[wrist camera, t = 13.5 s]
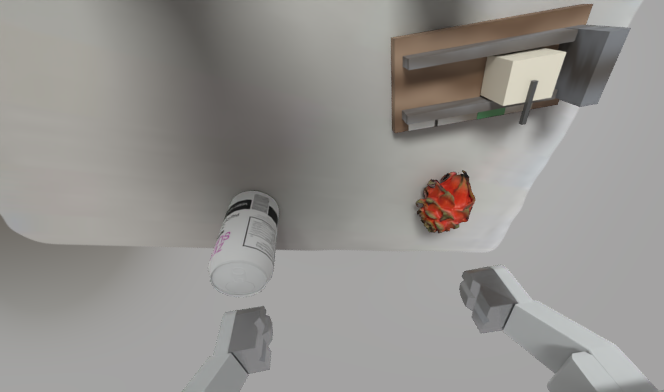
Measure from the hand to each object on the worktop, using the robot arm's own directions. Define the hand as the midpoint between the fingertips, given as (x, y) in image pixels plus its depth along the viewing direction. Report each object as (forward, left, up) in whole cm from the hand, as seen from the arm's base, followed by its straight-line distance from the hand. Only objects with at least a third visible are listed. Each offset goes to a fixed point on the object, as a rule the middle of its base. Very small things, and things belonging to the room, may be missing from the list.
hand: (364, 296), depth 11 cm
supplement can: (+17, -14, -31) cm, 38 cm away
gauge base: (+1, +22, -31) cm, 38 cm away
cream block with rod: (+2, +25, -29) cm, 39 cm away
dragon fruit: (+20, +18, -31) cm, 41 cm away
